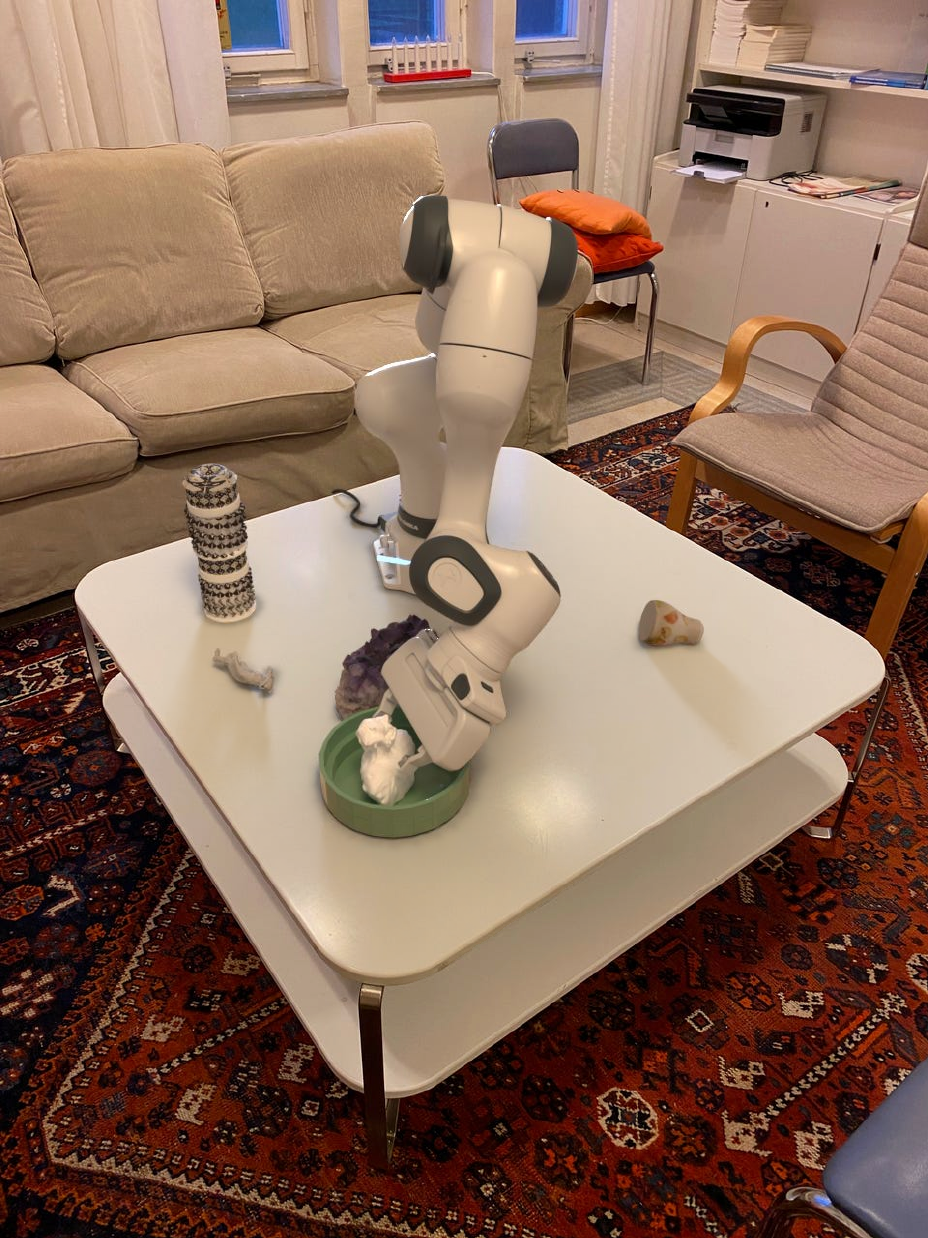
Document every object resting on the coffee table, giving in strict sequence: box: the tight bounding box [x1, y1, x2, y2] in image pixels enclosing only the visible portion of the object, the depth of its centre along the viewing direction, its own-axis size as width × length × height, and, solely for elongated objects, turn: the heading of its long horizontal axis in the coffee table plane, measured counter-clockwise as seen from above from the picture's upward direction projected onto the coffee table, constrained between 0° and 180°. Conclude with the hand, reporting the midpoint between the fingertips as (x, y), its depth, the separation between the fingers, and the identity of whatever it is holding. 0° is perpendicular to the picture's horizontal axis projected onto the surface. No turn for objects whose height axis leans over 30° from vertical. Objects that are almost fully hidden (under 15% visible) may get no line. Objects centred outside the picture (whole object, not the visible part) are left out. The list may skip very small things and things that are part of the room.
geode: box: [334, 613, 431, 721], centre depth 137 cm, size 20×12×10 cm, turn 160°
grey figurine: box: [211, 647, 275, 693], centre depth 140 cm, size 8×5×12 cm
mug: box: [638, 599, 705, 646], centre depth 149 cm, size 8×10×10 cm
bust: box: [356, 714, 415, 806], centre depth 120 cm, size 12×8×11 cm
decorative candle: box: [181, 463, 257, 624], centre depth 150 cm, size 9×9×25 cm
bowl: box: [318, 704, 472, 838], centre depth 122 cm, size 19×19×6 cm
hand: (389, 746), depth 120 cm, fingers open, 8 cm apart
